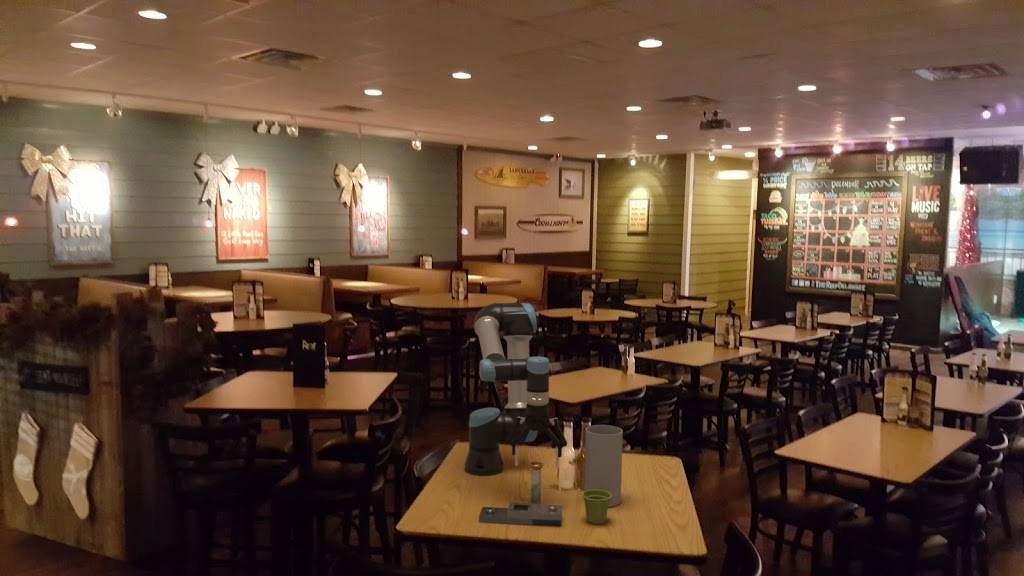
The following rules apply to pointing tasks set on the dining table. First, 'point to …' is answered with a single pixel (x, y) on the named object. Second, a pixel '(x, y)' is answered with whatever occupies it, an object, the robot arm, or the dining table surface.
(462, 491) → the dining table surface
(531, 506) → the stand base plate
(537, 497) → the pin
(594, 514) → the plant pot
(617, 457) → the cylinder vase
